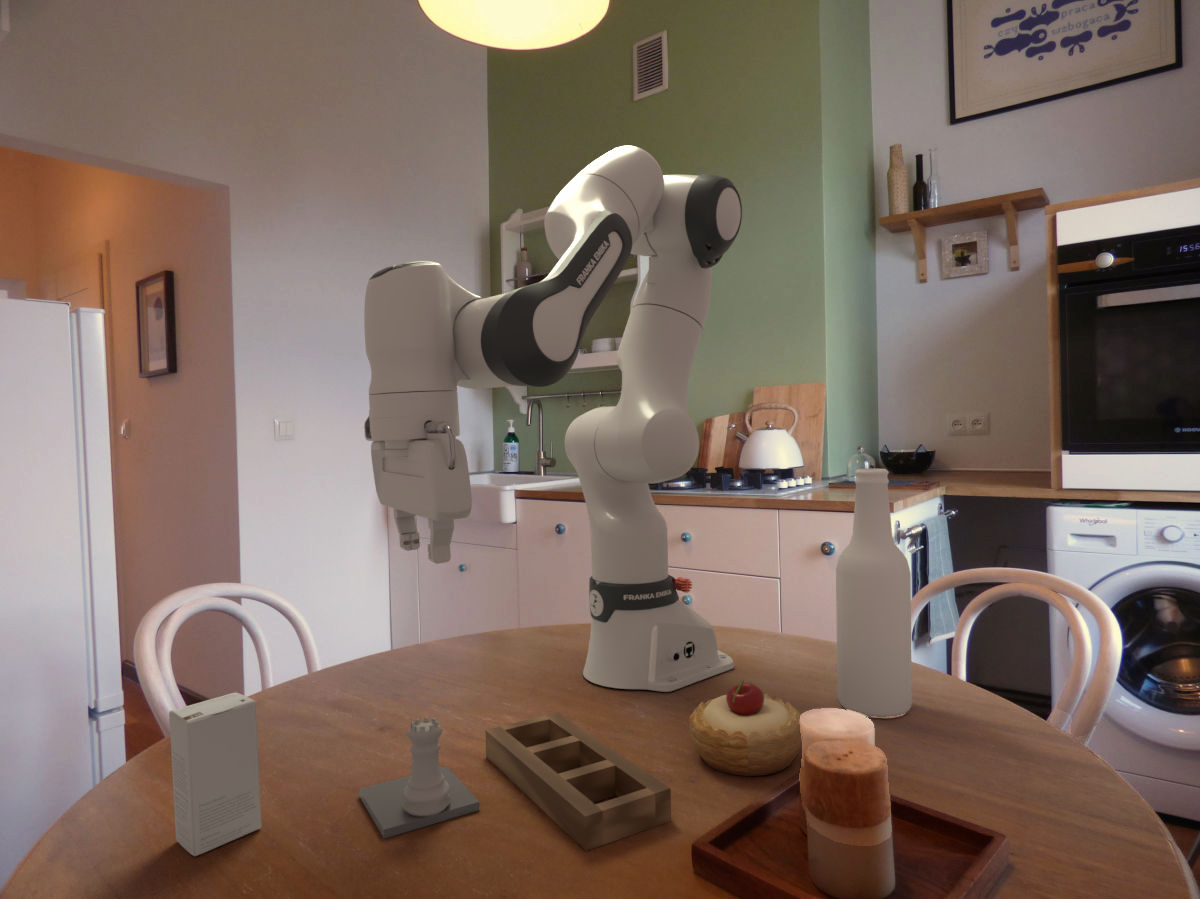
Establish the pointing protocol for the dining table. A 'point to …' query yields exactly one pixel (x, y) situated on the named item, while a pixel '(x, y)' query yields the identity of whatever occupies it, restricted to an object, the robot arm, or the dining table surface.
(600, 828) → the three-compartment wooden tray
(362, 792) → the coaster
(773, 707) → the pastry
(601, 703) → the dining table surface
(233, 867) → the dining table surface
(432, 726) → the rook chess piece
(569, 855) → the dining table surface
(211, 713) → the skincare box
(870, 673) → the alcohol
